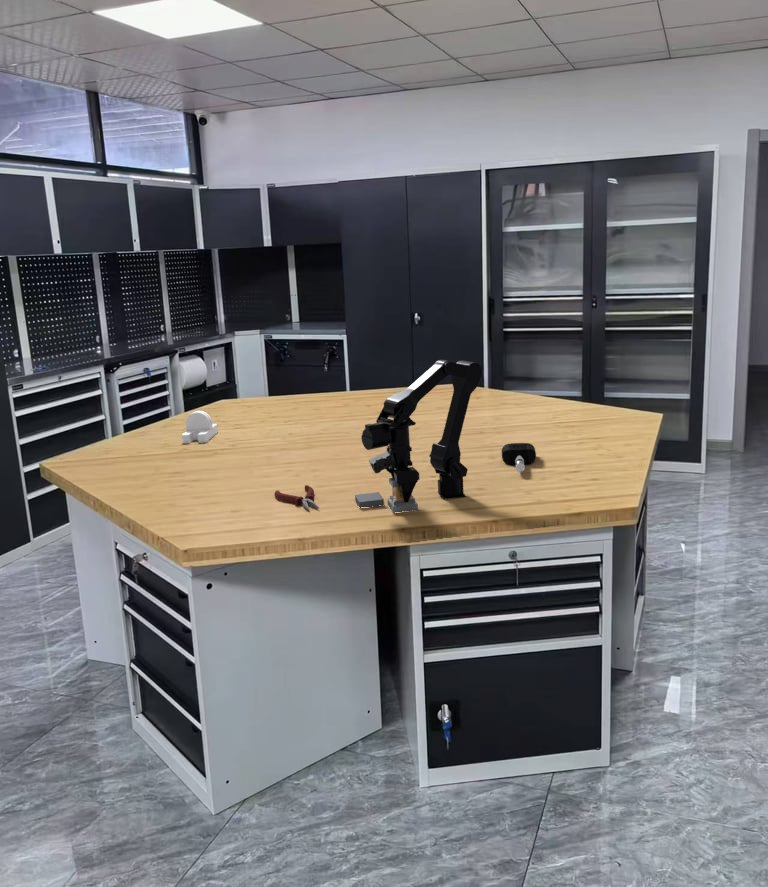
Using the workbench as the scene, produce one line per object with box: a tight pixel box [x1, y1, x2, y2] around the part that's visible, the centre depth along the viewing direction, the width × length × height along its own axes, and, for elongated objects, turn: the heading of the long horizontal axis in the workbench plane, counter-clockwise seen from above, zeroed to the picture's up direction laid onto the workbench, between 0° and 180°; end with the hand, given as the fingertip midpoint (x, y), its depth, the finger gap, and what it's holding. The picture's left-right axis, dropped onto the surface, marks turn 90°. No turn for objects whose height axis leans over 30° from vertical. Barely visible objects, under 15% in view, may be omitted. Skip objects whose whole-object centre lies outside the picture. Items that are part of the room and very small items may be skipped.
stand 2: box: [387, 498, 419, 514], centre depth 230 cm, size 7×7×2 cm
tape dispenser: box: [181, 410, 218, 444], centre depth 327 cm, size 10×18×11 cm, turn 176°
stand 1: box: [354, 491, 385, 509], centre depth 235 cm, size 7×7×2 cm
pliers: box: [274, 484, 320, 512], centre depth 241 cm, size 12×20×3 cm, turn 25°
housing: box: [388, 477, 416, 505], centre depth 229 cm, size 6×5×6 cm
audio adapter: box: [501, 442, 537, 474], centre depth 263 cm, size 11×5×25 cm
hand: (402, 497), depth 229 cm, fingers open, 9 cm apart
